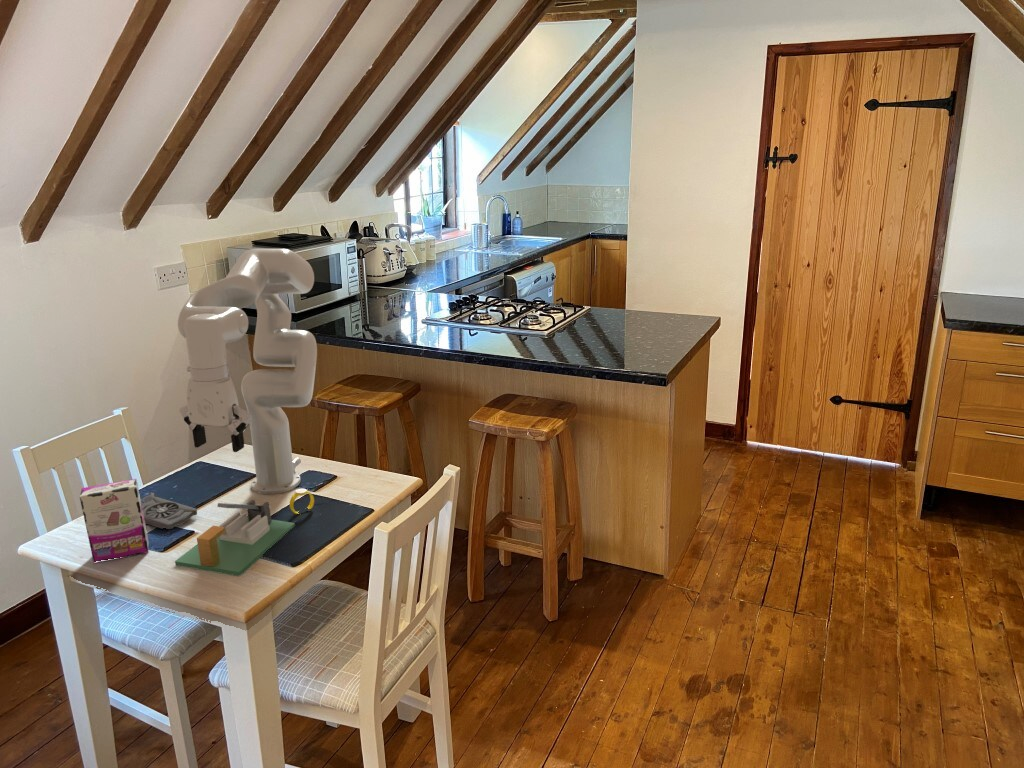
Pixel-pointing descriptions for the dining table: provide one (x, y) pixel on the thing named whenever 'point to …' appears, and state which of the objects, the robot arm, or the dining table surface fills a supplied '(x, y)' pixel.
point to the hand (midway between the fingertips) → (219, 447)
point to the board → (241, 541)
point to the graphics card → (165, 512)
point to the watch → (299, 493)
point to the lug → (209, 546)
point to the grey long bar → (239, 506)
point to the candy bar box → (114, 520)
